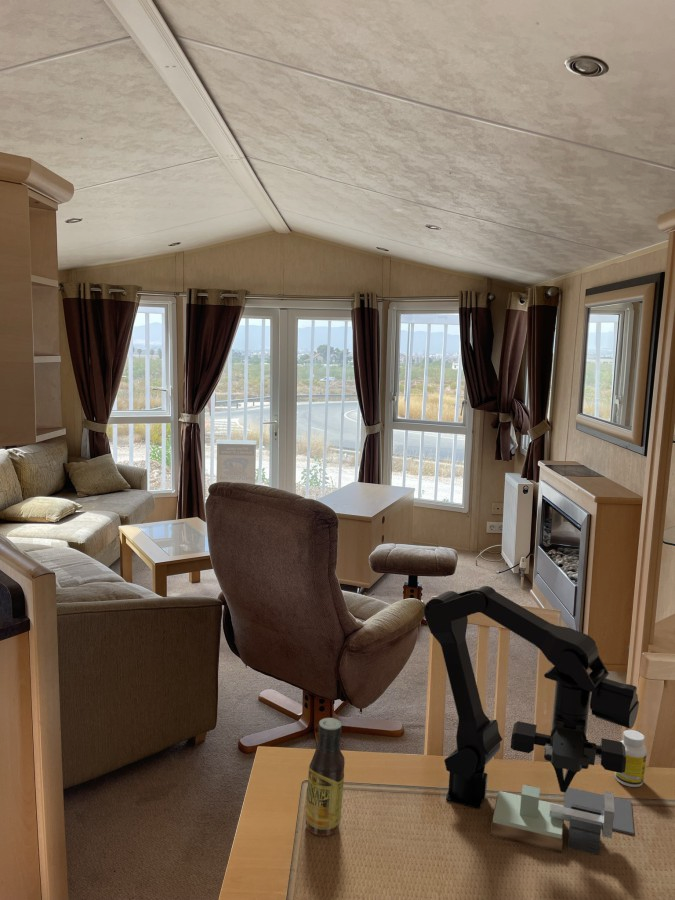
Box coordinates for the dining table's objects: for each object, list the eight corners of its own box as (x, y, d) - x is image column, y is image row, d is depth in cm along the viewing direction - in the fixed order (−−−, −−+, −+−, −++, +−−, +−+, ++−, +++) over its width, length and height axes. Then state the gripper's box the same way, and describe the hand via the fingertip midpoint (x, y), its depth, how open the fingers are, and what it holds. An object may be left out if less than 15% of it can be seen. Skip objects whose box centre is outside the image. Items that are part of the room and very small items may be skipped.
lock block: (567, 847, 127) (570, 819, 126) (568, 829, 132) (571, 802, 131) (598, 855, 126) (601, 826, 125) (598, 836, 130) (601, 809, 130)
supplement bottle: (645, 790, 145) (651, 743, 144) (616, 785, 146) (621, 739, 145) (640, 774, 150) (645, 729, 149) (612, 770, 151) (617, 726, 150)
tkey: (548, 823, 127) (550, 798, 127) (550, 803, 133) (552, 779, 132) (611, 838, 124) (614, 812, 123) (610, 817, 130) (613, 792, 129)
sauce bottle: (297, 826, 130) (301, 721, 127) (322, 811, 134) (326, 709, 131) (324, 844, 125) (329, 736, 122) (349, 828, 130) (354, 722, 127)
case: (490, 835, 129) (491, 822, 129) (496, 806, 138) (497, 793, 137) (561, 853, 126) (562, 840, 125) (563, 821, 134) (564, 809, 134)
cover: (492, 822, 129) (494, 797, 128) (498, 794, 137) (500, 770, 137) (561, 839, 125) (563, 813, 125) (563, 809, 134) (565, 785, 133)
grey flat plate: (563, 818, 135) (563, 816, 135) (565, 788, 144) (565, 786, 144) (633, 835, 131) (633, 832, 131) (630, 802, 141) (631, 800, 141)
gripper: (511, 718, 122) (503, 804, 124) (631, 742, 116) (621, 832, 118) (517, 689, 132) (510, 769, 135) (628, 710, 126) (619, 793, 129)
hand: (563, 791), depth 129 cm, fingers closed
